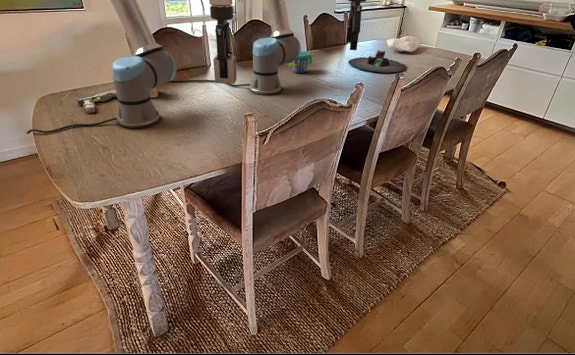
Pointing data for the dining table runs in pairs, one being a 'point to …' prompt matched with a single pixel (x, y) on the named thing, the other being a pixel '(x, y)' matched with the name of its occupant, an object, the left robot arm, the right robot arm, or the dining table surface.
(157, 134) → the dining table surface
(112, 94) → the handgun
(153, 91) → the candy box
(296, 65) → the snack cup
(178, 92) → the dining table surface
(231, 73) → the brick
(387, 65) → the dark round tray
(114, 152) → the dining table surface
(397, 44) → the crumpled cloth
